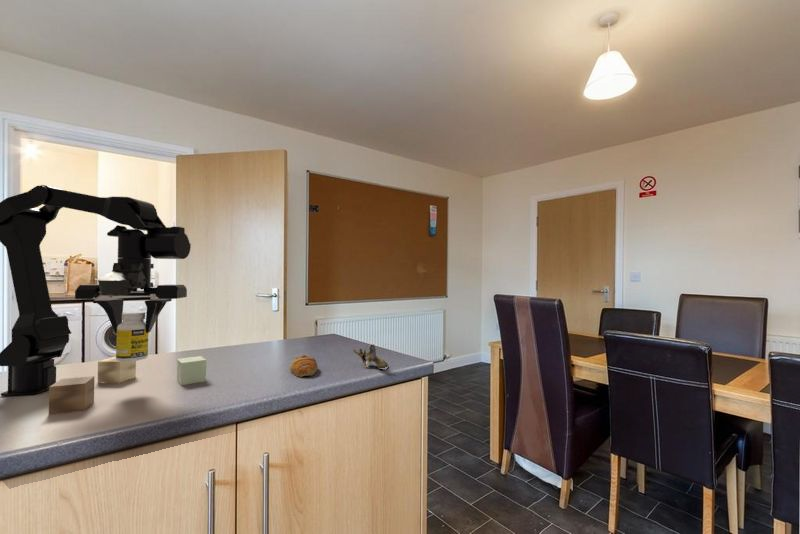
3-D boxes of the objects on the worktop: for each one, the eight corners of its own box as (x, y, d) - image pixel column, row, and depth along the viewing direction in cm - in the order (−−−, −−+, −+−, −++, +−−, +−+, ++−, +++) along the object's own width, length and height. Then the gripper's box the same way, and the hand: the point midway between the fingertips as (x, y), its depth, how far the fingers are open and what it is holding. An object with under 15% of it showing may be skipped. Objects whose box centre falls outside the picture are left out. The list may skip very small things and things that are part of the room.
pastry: (321, 377, 89) (321, 361, 89) (292, 380, 87) (292, 364, 87) (314, 367, 98) (314, 353, 98) (288, 370, 96) (288, 355, 96)
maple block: (97, 383, 82) (97, 361, 83) (114, 377, 87) (115, 356, 88) (119, 383, 82) (120, 361, 83) (135, 377, 87) (136, 356, 88)
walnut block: (48, 415, 64) (49, 386, 64) (60, 405, 69) (61, 379, 69) (84, 411, 66) (85, 383, 66) (93, 402, 71) (94, 376, 71)
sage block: (181, 385, 82) (181, 363, 82) (177, 380, 85) (177, 358, 85) (205, 381, 85) (206, 359, 85) (200, 376, 89) (201, 355, 89)
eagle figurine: (348, 363, 97) (371, 362, 92) (356, 339, 101) (379, 336, 95) (367, 374, 102) (390, 374, 96) (374, 350, 105) (397, 349, 100)
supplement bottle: (131, 363, 73) (132, 314, 74) (109, 361, 75) (110, 313, 75) (154, 357, 79) (155, 311, 79) (133, 355, 80) (134, 310, 80)
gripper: (54, 256, 67) (52, 340, 67) (165, 258, 71) (164, 338, 70) (94, 258, 78) (92, 331, 78) (188, 259, 82) (187, 329, 81)
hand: (133, 332), depth 77 cm, fingers closed on supplement bottle, 5 cm apart
